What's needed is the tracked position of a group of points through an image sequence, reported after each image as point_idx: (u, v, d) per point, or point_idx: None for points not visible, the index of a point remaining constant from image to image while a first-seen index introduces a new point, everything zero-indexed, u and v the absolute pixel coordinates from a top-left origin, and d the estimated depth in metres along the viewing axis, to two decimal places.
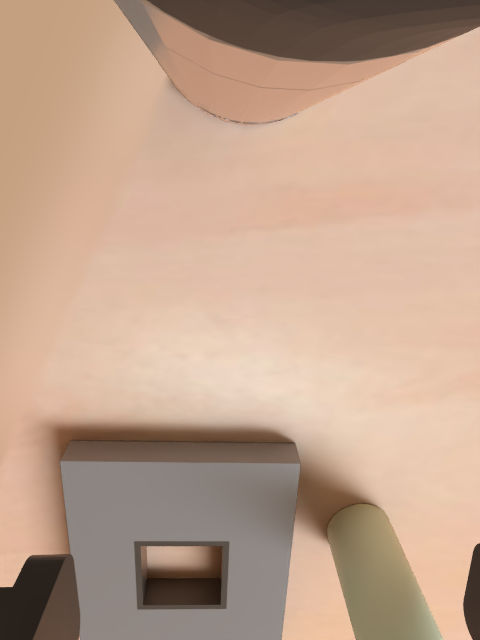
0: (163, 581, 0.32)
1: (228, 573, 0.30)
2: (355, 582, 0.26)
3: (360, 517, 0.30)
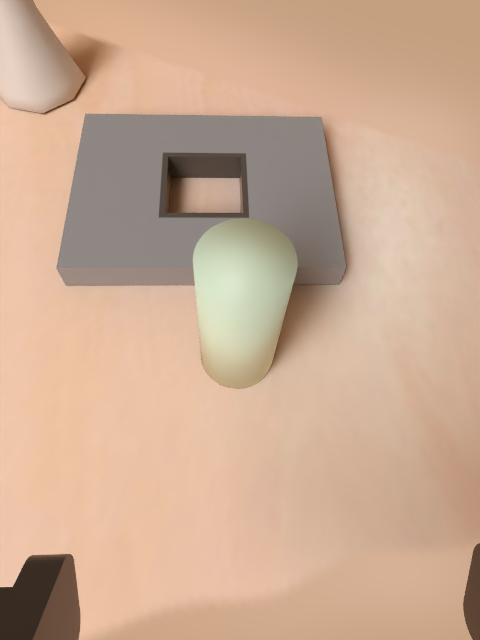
0: None
1: (207, 218, 0.30)
2: None
3: None
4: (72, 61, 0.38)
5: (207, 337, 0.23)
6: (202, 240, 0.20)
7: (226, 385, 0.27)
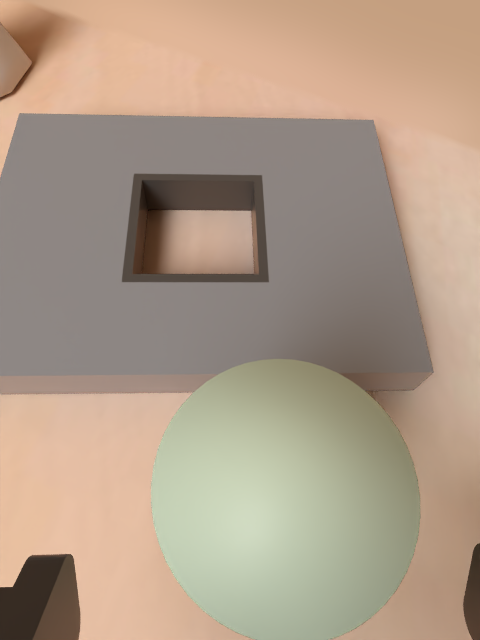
0: (145, 224, 0.22)
1: (201, 283, 0.19)
2: None
3: None
4: (9, 38, 0.26)
5: None
6: (178, 425, 0.08)
7: None
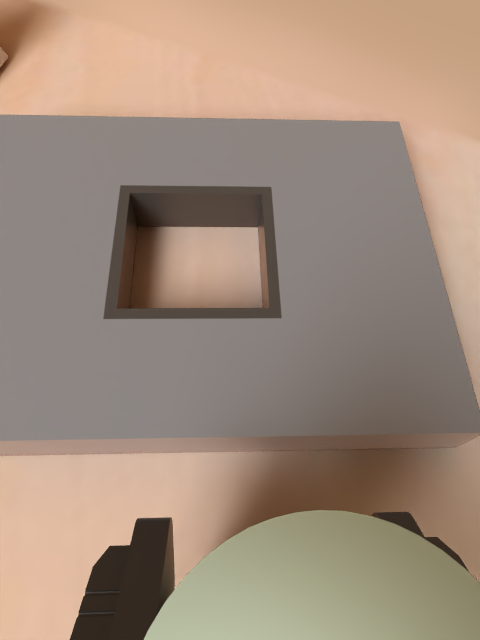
0: (134, 244, 0.19)
1: (199, 319, 0.15)
2: None
3: None
4: None
5: None
6: None
7: None
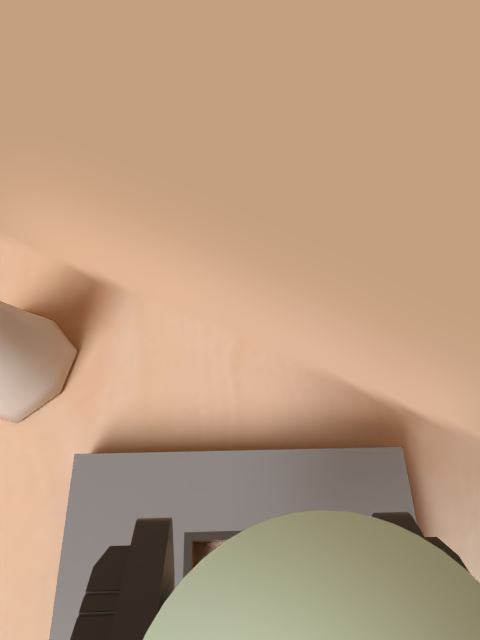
0: (193, 566, 0.24)
1: None
2: None
3: None
4: (58, 345, 0.28)
5: None
6: None
7: None
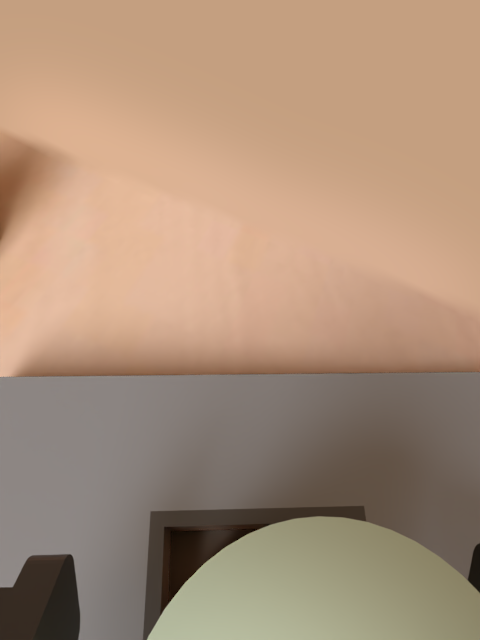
0: (168, 573, 0.14)
1: None
2: None
3: None
4: None
5: None
6: None
7: None
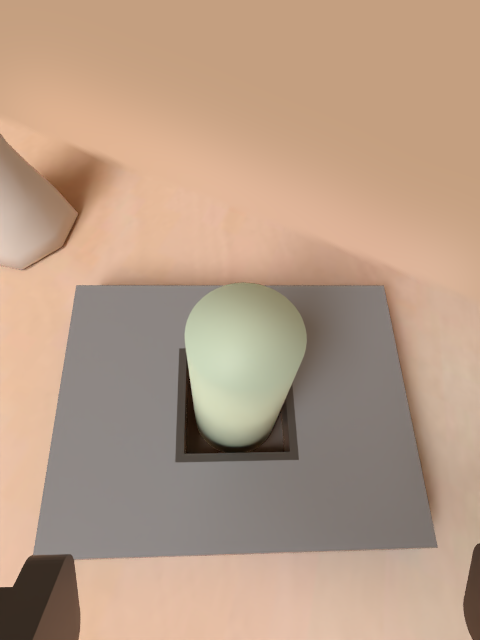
0: (187, 386, 0.26)
1: (241, 461, 0.22)
2: None
3: None
4: (60, 200, 0.29)
5: (201, 410, 0.20)
6: (196, 310, 0.17)
7: (223, 451, 0.24)
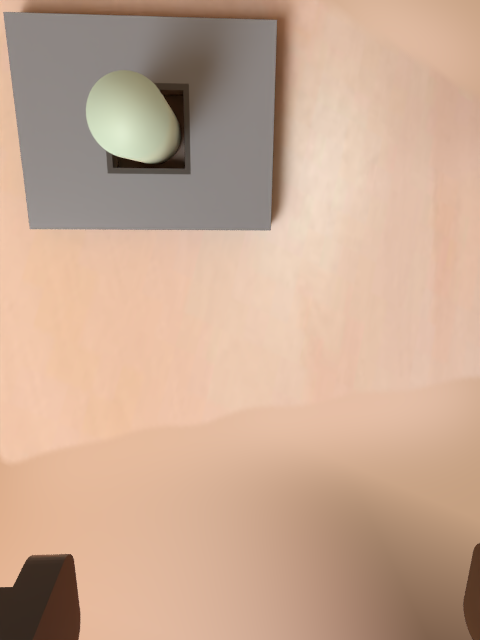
0: None
1: (152, 174, 0.33)
2: None
3: (178, 125, 0.33)
4: None
5: None
6: (91, 94, 0.24)
7: None
